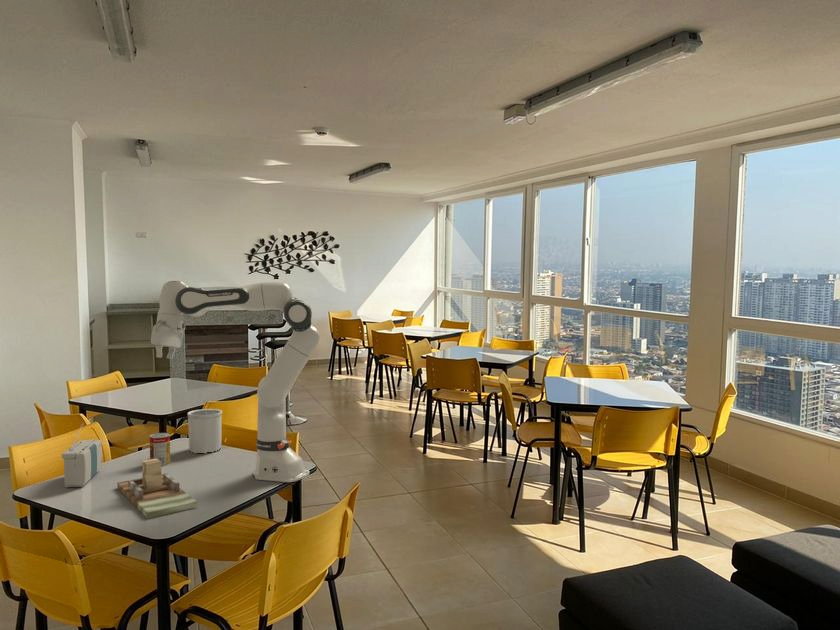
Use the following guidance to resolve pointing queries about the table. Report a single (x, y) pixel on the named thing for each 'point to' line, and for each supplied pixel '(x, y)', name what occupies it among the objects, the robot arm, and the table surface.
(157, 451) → the canned food
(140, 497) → the track
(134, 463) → the table surface
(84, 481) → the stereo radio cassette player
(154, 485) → the wood block
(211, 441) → the utensil holder
